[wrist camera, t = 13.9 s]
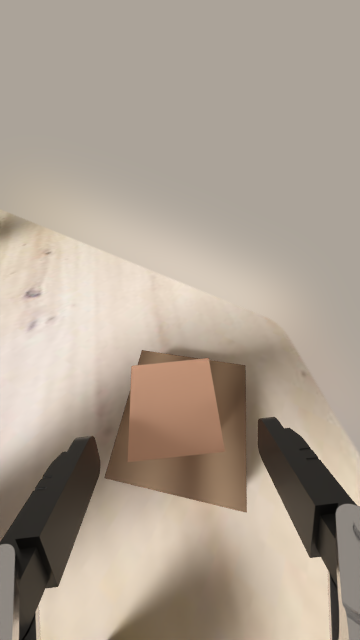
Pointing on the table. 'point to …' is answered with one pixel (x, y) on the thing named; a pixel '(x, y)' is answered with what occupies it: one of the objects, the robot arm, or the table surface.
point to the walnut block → (195, 470)
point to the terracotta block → (173, 411)
